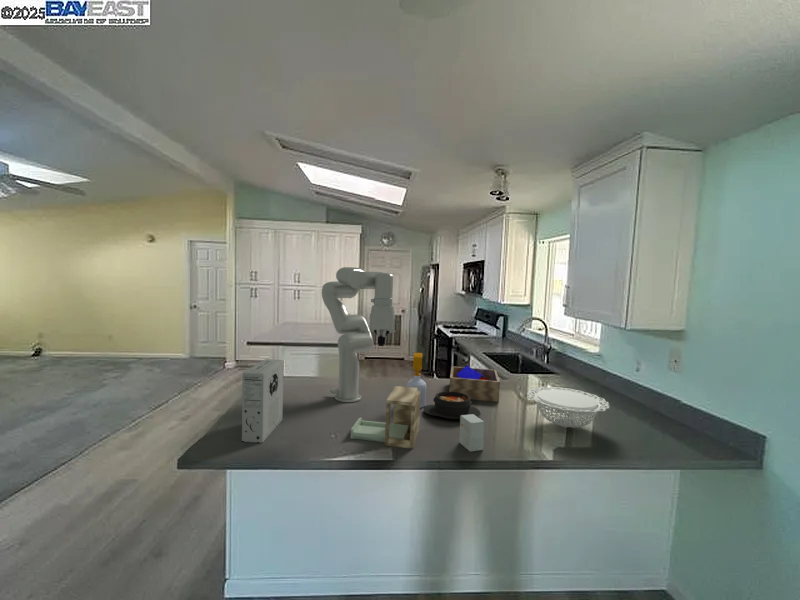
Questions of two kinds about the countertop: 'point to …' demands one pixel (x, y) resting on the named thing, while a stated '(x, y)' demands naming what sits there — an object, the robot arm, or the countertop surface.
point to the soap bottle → (418, 378)
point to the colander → (567, 405)
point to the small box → (471, 432)
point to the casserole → (451, 405)
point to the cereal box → (262, 400)
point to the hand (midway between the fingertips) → (381, 345)
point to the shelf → (403, 415)
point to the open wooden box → (476, 385)
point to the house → (470, 374)
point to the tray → (377, 431)
